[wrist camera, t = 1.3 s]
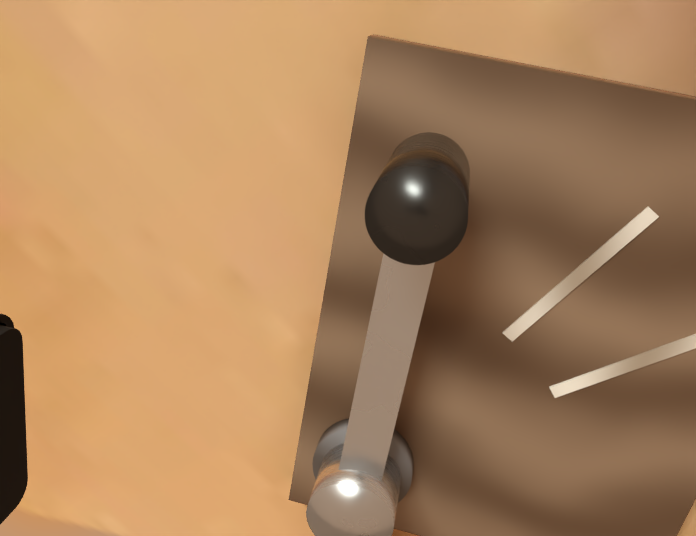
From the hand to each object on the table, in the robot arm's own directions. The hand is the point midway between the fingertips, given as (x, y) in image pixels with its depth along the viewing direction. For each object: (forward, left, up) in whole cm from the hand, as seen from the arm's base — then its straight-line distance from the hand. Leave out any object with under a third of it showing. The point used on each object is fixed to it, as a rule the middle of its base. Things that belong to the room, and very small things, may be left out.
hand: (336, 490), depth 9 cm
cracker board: (+8, +6, -21) cm, 23 cm away
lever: (+8, 0, -18) cm, 20 cm away
